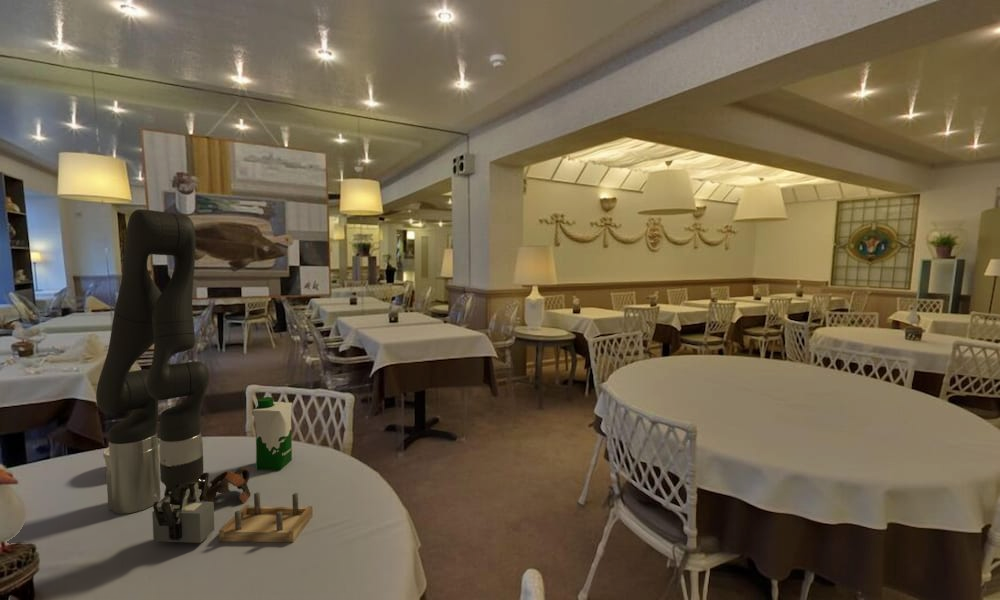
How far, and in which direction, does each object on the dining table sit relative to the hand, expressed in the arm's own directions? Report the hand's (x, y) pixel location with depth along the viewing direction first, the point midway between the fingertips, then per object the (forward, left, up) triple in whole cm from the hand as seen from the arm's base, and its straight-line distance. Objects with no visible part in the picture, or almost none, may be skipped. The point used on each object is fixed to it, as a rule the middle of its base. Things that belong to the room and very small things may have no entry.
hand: (184, 531), depth 97 cm
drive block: (0, 0, -1) cm, 1 cm away
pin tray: (+16, +5, -2) cm, 16 cm away
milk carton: (+1, +36, -2) cm, 36 cm away
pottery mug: (0, +17, -3) cm, 18 cm away
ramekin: (-37, +32, -3) cm, 49 cm away
